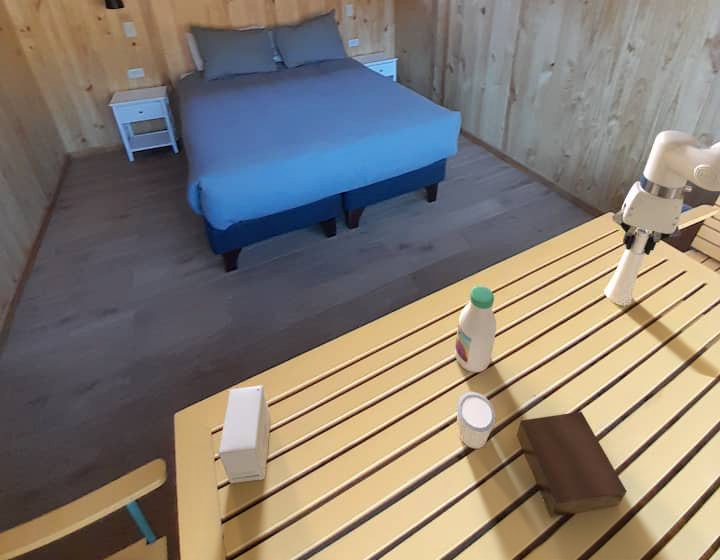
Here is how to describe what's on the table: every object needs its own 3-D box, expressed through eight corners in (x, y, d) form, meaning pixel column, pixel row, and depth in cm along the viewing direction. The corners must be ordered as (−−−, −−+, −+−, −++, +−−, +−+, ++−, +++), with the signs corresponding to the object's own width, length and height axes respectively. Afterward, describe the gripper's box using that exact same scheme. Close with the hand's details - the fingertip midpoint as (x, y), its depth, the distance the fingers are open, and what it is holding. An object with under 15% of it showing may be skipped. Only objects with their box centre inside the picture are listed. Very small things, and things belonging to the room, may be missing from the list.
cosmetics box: (238, 419, 79) (229, 387, 74) (271, 415, 80) (264, 384, 75) (227, 484, 70) (216, 453, 65) (264, 480, 70) (256, 448, 66)
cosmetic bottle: (634, 308, 100) (663, 241, 90) (607, 303, 102) (633, 237, 92) (627, 289, 105) (653, 224, 95) (601, 284, 107) (624, 220, 97)
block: (575, 426, 77) (581, 411, 75) (618, 506, 66) (627, 491, 64) (516, 435, 76) (520, 420, 74) (550, 517, 65) (556, 503, 63)
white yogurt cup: (446, 431, 77) (449, 410, 73) (466, 404, 81) (469, 383, 78) (478, 461, 72) (483, 441, 69) (497, 431, 77) (502, 410, 73)
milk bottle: (489, 345, 92) (501, 283, 83) (489, 377, 86) (503, 314, 76) (455, 337, 94) (463, 275, 85) (453, 368, 87) (461, 305, 78)
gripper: (702, 185, 88) (674, 248, 96) (616, 168, 94) (596, 229, 102) (712, 204, 82) (681, 270, 90) (619, 185, 88) (598, 248, 96)
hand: (636, 247), depth 96 cm, fingers closed on cosmetic bottle, 3 cm apart
